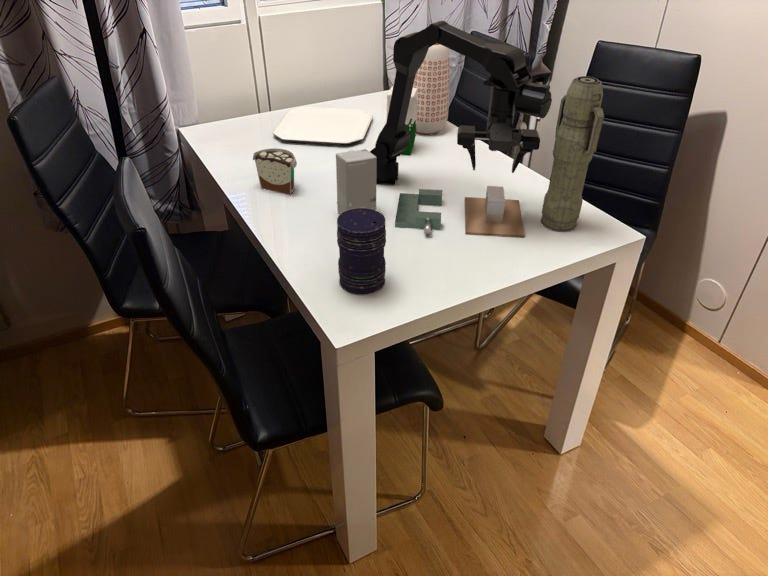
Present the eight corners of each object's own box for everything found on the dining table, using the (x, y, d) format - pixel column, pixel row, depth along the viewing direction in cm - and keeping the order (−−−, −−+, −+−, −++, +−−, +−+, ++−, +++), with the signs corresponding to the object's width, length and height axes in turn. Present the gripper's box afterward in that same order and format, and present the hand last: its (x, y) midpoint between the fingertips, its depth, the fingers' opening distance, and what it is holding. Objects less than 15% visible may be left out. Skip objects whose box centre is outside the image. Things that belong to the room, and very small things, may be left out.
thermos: (564, 238, 144) (596, 90, 124) (528, 218, 152) (552, 76, 132) (589, 228, 149) (624, 83, 128) (553, 208, 156) (580, 69, 136)
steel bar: (485, 222, 149) (488, 200, 145) (484, 207, 155) (487, 185, 152) (502, 223, 149) (505, 201, 145) (500, 208, 155) (503, 186, 152)
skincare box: (347, 223, 149) (345, 163, 140) (335, 211, 154) (333, 152, 145) (378, 216, 152) (378, 157, 143) (365, 204, 157) (365, 146, 148)
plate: (292, 111, 212) (292, 105, 211) (375, 116, 209) (375, 110, 208) (269, 144, 189) (268, 137, 188) (361, 150, 186) (361, 143, 185)
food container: (307, 187, 165) (305, 152, 159) (295, 197, 160) (292, 161, 154) (269, 178, 169) (265, 144, 163) (256, 187, 164) (251, 152, 159)
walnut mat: (465, 234, 146) (465, 232, 145) (464, 199, 160) (464, 197, 160) (524, 237, 145) (525, 235, 144) (518, 202, 159) (518, 199, 159)
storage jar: (331, 289, 127) (327, 226, 118) (349, 264, 135) (348, 204, 126) (375, 299, 124) (375, 236, 116) (392, 274, 132) (393, 213, 123)
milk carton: (384, 154, 183) (384, 87, 171) (389, 142, 190) (390, 77, 178) (413, 156, 182) (416, 89, 170) (417, 145, 189) (420, 79, 177)
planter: (406, 121, 204) (408, 33, 188) (445, 122, 204) (452, 34, 188) (405, 137, 194) (408, 44, 177) (447, 138, 193) (454, 45, 177)
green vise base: (393, 235, 145) (393, 224, 143) (399, 198, 160) (399, 187, 158) (439, 238, 144) (440, 227, 142) (441, 200, 159) (442, 190, 158)
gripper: (460, 118, 132) (454, 183, 141) (548, 123, 131) (535, 189, 140) (460, 100, 141) (454, 163, 150) (542, 105, 140) (531, 168, 149)
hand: (493, 171), depth 147 cm, fingers open, 9 cm apart
